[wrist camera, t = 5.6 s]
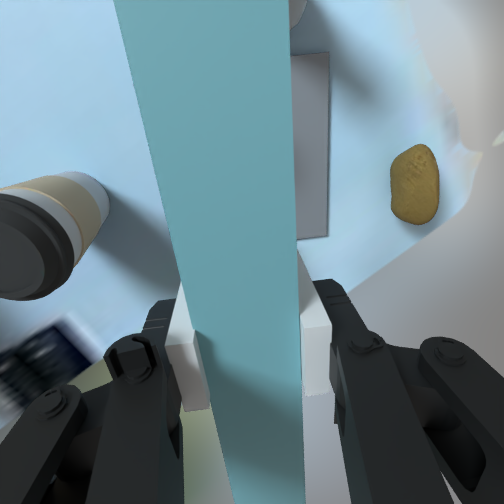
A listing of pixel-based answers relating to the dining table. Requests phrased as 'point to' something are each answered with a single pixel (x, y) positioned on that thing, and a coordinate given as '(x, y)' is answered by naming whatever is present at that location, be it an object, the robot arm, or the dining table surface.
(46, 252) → the coffee cup
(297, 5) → the salt shaker
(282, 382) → the rail
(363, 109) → the dining table surface
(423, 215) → the potato
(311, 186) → the mat
